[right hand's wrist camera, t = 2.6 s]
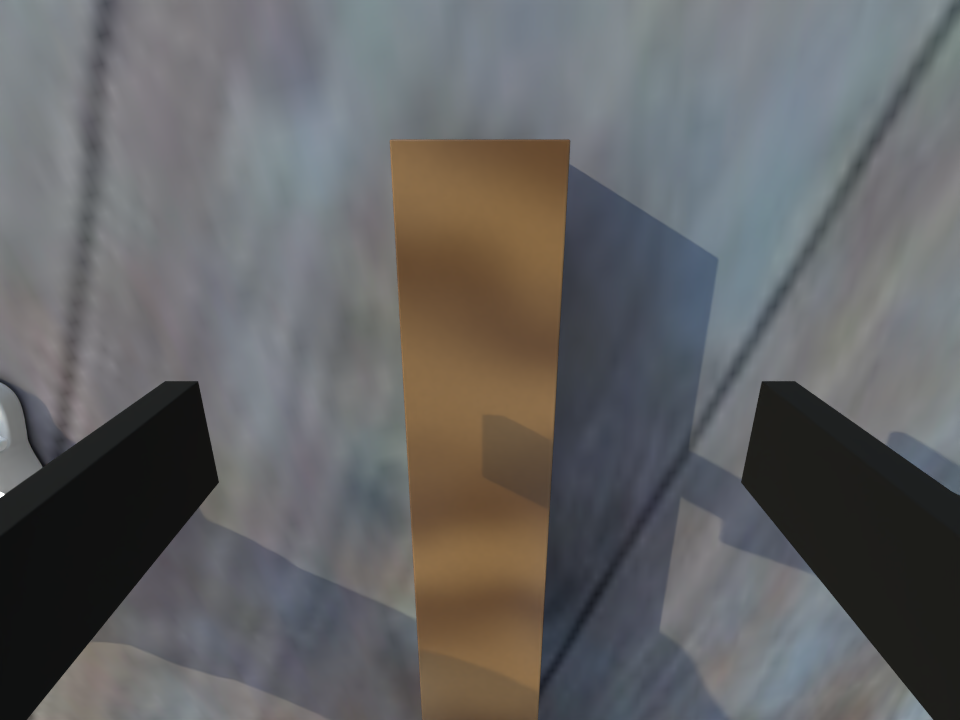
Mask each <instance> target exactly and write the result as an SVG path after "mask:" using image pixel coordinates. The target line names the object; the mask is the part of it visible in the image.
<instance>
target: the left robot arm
mask: <svg viewBox="0 0 960 720" xmlns="http://www.w3.org/2000/svg"><path fill="white" fill-rule="evenodd" d="M41 468H43V467H42V465H41V463H40V462H39V460H38V459H37V457H36V455H35V454H34V452H33V450H32V448H31V446H30V444H29V442H28V437H27V430H26V424H25V418H24V414H23V410H22V407H21V404H20V401H19V399H18V398H17V396H16V394H15V393H14V392H13V391H12V390H11V389H10V388H9V387H7V386H6V385H4V384H2V383H1V382H0V497H1V496H3V495H4V494H6V493H7V492H9V491H10V490H11V489H13V488H14V487H16V486H17V485H18V484H20V483H21V482H23V481H24V480H26V479H27V478H28V477H30V476H31V475H33V474H34V473H36V472H37V471H38V470H40V469H41Z"/></svg>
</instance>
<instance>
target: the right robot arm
mask: <svg viewBox="0 0 960 720" xmlns="http://www.w3.org/2000/svg"><path fill="white" fill-rule="evenodd" d="M218 483H219V481H218V476H217V471H216V466H215V461H214V456H213V452H212V447H211V442H210V437H209V432H208V427H207V422H206V418H205V413H204V408H203V403H202V398H201V393H200V388H199V384H198V381H165V382H164V383H162V384H161V385H159V386H158V387H156V388H155V389H154V390H152V391H151V392H149V393H148V394H146V395H145V396H144V397H142V398H141V399H139V400H138V401H137V402H135V403H134V404H132V405H131V406H129V407H128V408H127V409H125V410H124V411H122V412H121V413H119V414H118V415H117V416H115V417H114V418H112V419H111V420H109V421H108V422H107V423H105V424H104V425H102V426H101V427H100V428H98V429H97V430H95V431H94V432H92V433H91V434H90V435H88V436H87V437H85V438H84V439H82V440H81V441H80V442H78V443H77V444H75V445H74V446H73V447H71V448H70V449H68V450H67V451H65V452H64V453H63V454H61V455H60V456H58V457H57V458H55V459H54V460H53V461H51V462H50V463H48V464H47V465H46V466H44V467H43V468H41V469H40V470H38V471H37V472H36V473H34V474H33V475H31V476H30V477H28V478H27V479H26V480H24V481H23V482H21V483H20V484H18V485H17V486H16V487H14V488H13V489H11V490H10V491H9V492H7V493H6V494H4V495H3V496H1V497H0V720H27V719H28V717H29V716H30V715H31V714H32V712H33V711H34V710H35V709H36V708H37V706H38V705H39V704H40V703H41V701H42V700H43V699H44V698H45V696H46V695H47V694H48V693H49V691H50V690H51V689H52V688H53V687H54V685H55V684H56V683H57V682H58V680H59V679H60V678H61V677H62V675H63V674H64V673H65V672H66V670H67V669H68V668H69V667H70V666H71V664H72V663H73V662H74V661H75V659H76V658H77V657H78V656H79V654H80V653H81V652H82V651H83V649H84V648H85V647H86V646H87V645H88V643H89V642H90V641H91V640H92V638H93V637H94V636H95V635H96V633H97V632H98V631H99V630H100V628H101V627H102V626H103V625H104V624H105V622H106V621H107V620H108V619H109V617H110V616H111V615H112V614H113V612H114V611H115V610H116V609H117V607H118V606H119V605H120V604H121V603H122V601H123V600H124V599H125V598H126V596H127V595H128V594H129V593H130V591H131V590H132V589H133V588H134V586H135V585H136V584H137V583H138V582H139V580H140V579H141V578H142V577H143V575H144V574H145V573H146V572H147V570H148V569H149V568H150V567H151V566H152V564H153V563H154V562H155V561H156V559H157V558H158V557H159V556H160V554H161V553H162V552H163V551H164V549H165V548H166V547H167V546H168V545H169V543H170V542H171V541H172V540H173V538H174V537H175V536H176V535H177V533H178V532H179V531H180V530H181V528H182V527H183V526H184V525H185V524H186V522H187V521H188V520H189V519H190V517H191V516H192V515H193V514H194V512H195V511H196V510H197V509H198V507H199V506H200V505H201V504H202V503H203V501H204V500H205V499H206V498H207V496H208V495H209V494H210V493H211V491H212V490H213V489H214V488H215V486H216V485H217V484H218ZM741 483H742V484H743V485H744V486H745V488H746V489H747V490H748V491H749V493H750V494H751V495H752V496H753V498H754V499H755V500H756V501H757V503H758V504H759V505H760V506H761V507H762V509H763V510H764V511H765V512H766V514H767V515H768V516H769V517H770V519H771V520H772V521H773V522H774V524H775V525H776V526H777V527H778V528H779V530H780V531H781V532H782V533H783V535H784V536H785V537H786V538H787V540H788V541H789V542H790V543H791V545H792V546H793V547H794V548H795V549H796V551H797V552H798V553H799V554H800V556H801V557H802V558H803V559H804V561H805V562H806V563H807V564H808V566H809V567H810V568H811V569H812V570H813V572H814V573H815V574H816V575H817V577H818V578H819V579H820V580H821V582H822V583H823V584H824V585H825V587H826V588H827V589H828V590H829V591H830V593H831V594H832V595H833V596H834V598H835V599H836V600H837V601H838V603H839V604H840V605H841V606H842V607H843V609H844V610H845V611H846V612H847V614H848V615H849V616H850V617H851V619H852V620H853V621H854V622H855V624H856V625H857V626H858V627H859V628H860V630H861V631H862V632H863V633H864V635H865V636H866V637H867V638H868V640H869V641H870V642H871V643H872V645H873V646H874V647H875V648H876V649H877V651H878V652H879V653H880V654H881V656H882V657H883V658H884V659H885V661H886V662H887V663H888V664H889V666H890V667H891V668H892V669H893V670H894V672H895V673H896V674H897V675H898V677H899V678H900V679H901V680H902V682H903V683H904V684H905V685H906V687H907V688H908V689H909V690H910V691H911V693H912V694H913V695H914V696H915V698H916V699H917V700H918V701H919V703H920V704H921V705H922V706H923V708H924V709H925V710H926V711H927V712H928V714H929V715H930V716H931V717H932V719H933V720H960V495H958V494H955V493H953V492H951V491H950V490H949V489H947V488H946V487H944V486H943V485H942V484H940V483H939V482H937V481H936V480H934V479H933V478H932V477H930V476H929V475H927V474H926V473H924V472H923V471H922V470H920V469H919V468H917V467H916V466H914V465H913V464H912V463H910V462H909V461H907V460H906V459H905V458H903V457H902V456H900V455H899V454H897V453H896V452H895V451H893V450H892V449H890V448H889V447H887V446H886V445H885V444H883V443H882V442H880V441H879V440H878V439H876V438H875V437H873V436H872V435H870V434H869V433H868V432H866V431H865V430H863V429H862V428H860V427H859V426H858V425H856V424H855V423H853V422H852V421H851V420H849V419H848V418H846V417H845V416H843V415H842V414H841V413H839V412H838V411H836V410H835V409H833V408H832V407H831V406H829V405H828V404H826V403H825V402H823V401H822V400H821V399H819V398H818V397H816V396H815V395H814V394H812V393H811V392H809V391H808V390H806V389H805V388H804V387H802V386H801V385H799V384H798V383H796V382H795V381H762V384H761V388H760V393H759V398H758V403H757V408H756V413H755V418H754V422H753V427H752V432H751V437H750V442H749V447H748V452H747V456H746V461H745V466H744V471H743V476H742V481H741Z"/></svg>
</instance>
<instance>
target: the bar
mask: <svg viewBox="0 0 960 720" xmlns="http://www.w3.org/2000/svg"><path fill="white" fill-rule="evenodd" d="M390 153H391V171H392V189H393V206H394V224H395V242H396V260H397V278H398V296H399V314H400V332H401V349H402V367H403V385H404V403H405V421H406V439H407V457H408V474H409V492H410V510H411V528H412V546H413V564H414V582H415V600H416V617H417V635H418V653H419V671H420V689H421V707H422V720H538V708H539V690H540V673H541V655H542V637H543V619H544V601H545V583H546V566H547V548H548V530H549V512H550V494H551V476H552V458H553V441H554V423H555V405H556V387H557V369H558V351H559V334H560V316H561V298H562V280H563V262H564V244H565V226H566V209H567V191H568V173H569V155H570V140H390Z"/></svg>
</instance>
